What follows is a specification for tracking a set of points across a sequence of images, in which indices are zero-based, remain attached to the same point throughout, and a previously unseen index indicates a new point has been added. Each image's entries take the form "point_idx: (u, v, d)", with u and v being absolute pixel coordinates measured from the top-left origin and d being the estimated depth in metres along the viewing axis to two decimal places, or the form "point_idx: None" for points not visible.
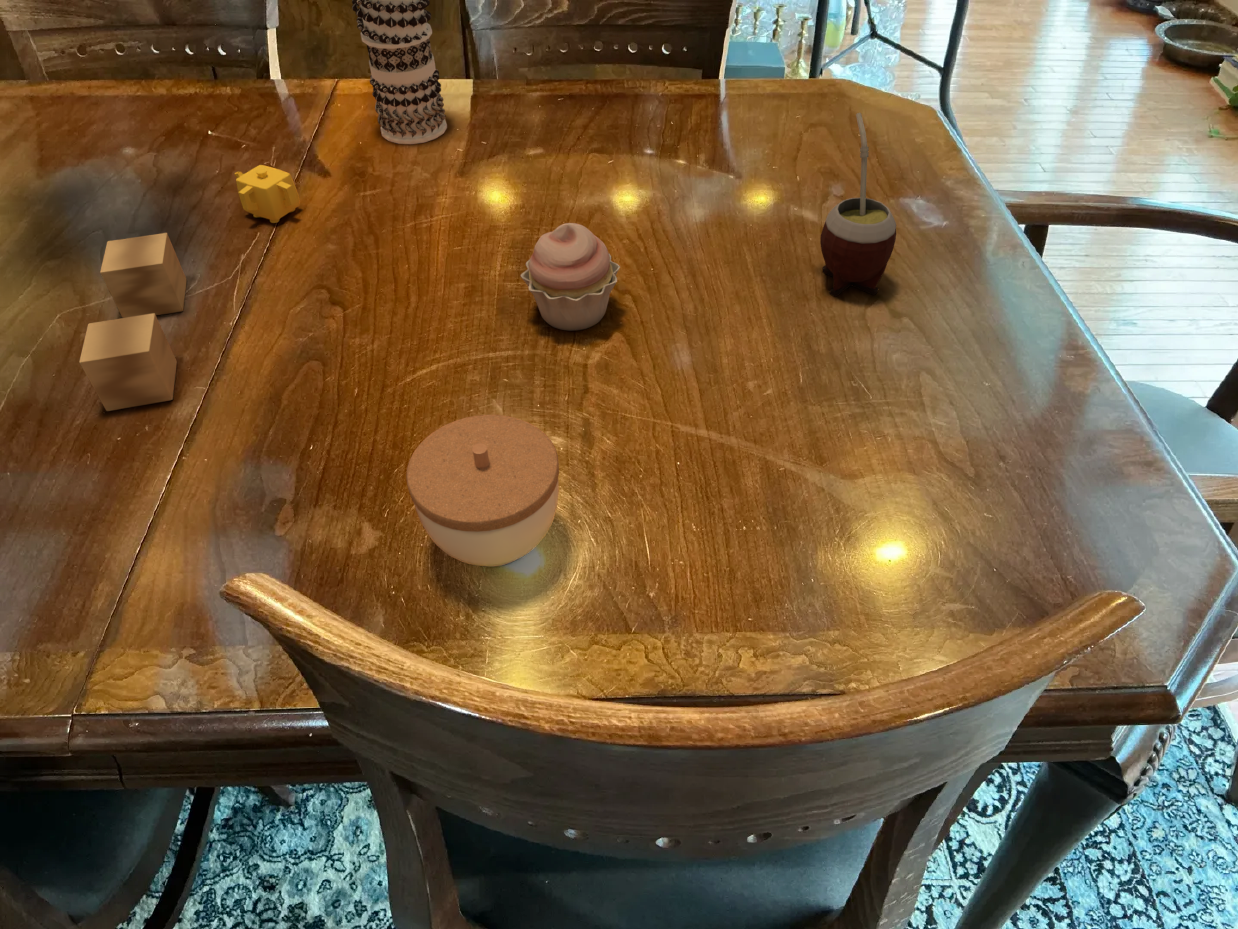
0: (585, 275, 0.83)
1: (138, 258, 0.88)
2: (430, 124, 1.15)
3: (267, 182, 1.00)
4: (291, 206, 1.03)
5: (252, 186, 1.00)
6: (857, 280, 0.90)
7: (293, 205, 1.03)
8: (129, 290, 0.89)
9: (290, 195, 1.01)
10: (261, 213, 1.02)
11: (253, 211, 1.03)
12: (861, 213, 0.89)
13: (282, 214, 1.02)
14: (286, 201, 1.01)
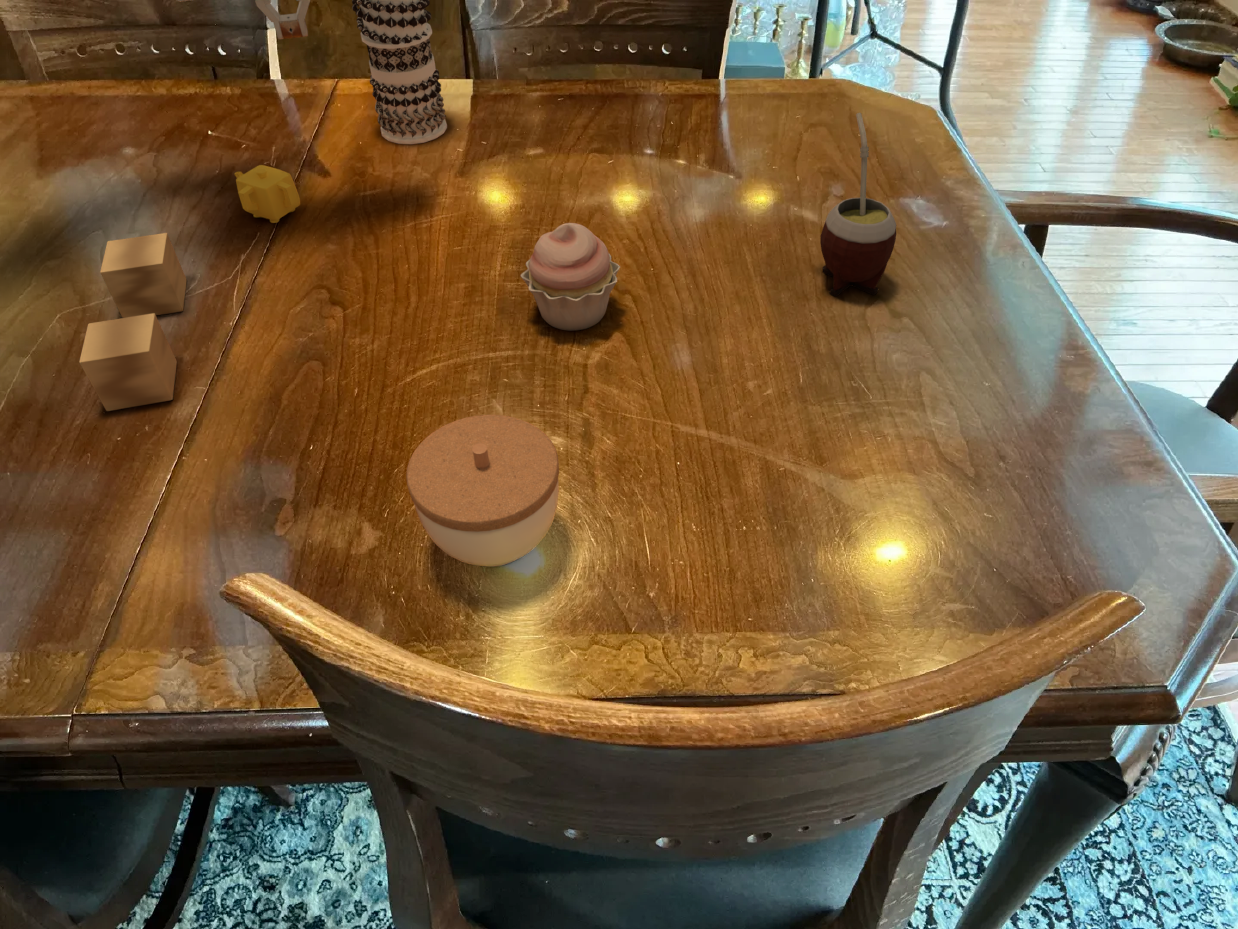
0: (585, 275, 0.83)
1: (138, 258, 0.88)
2: (430, 124, 1.15)
3: (267, 182, 1.00)
4: (291, 206, 1.03)
5: (252, 186, 1.00)
6: (857, 280, 0.90)
7: (293, 205, 1.03)
8: (129, 290, 0.89)
9: (290, 195, 1.01)
10: (261, 213, 1.02)
11: (253, 211, 1.03)
12: (861, 213, 0.89)
13: (282, 214, 1.02)
14: (286, 201, 1.01)
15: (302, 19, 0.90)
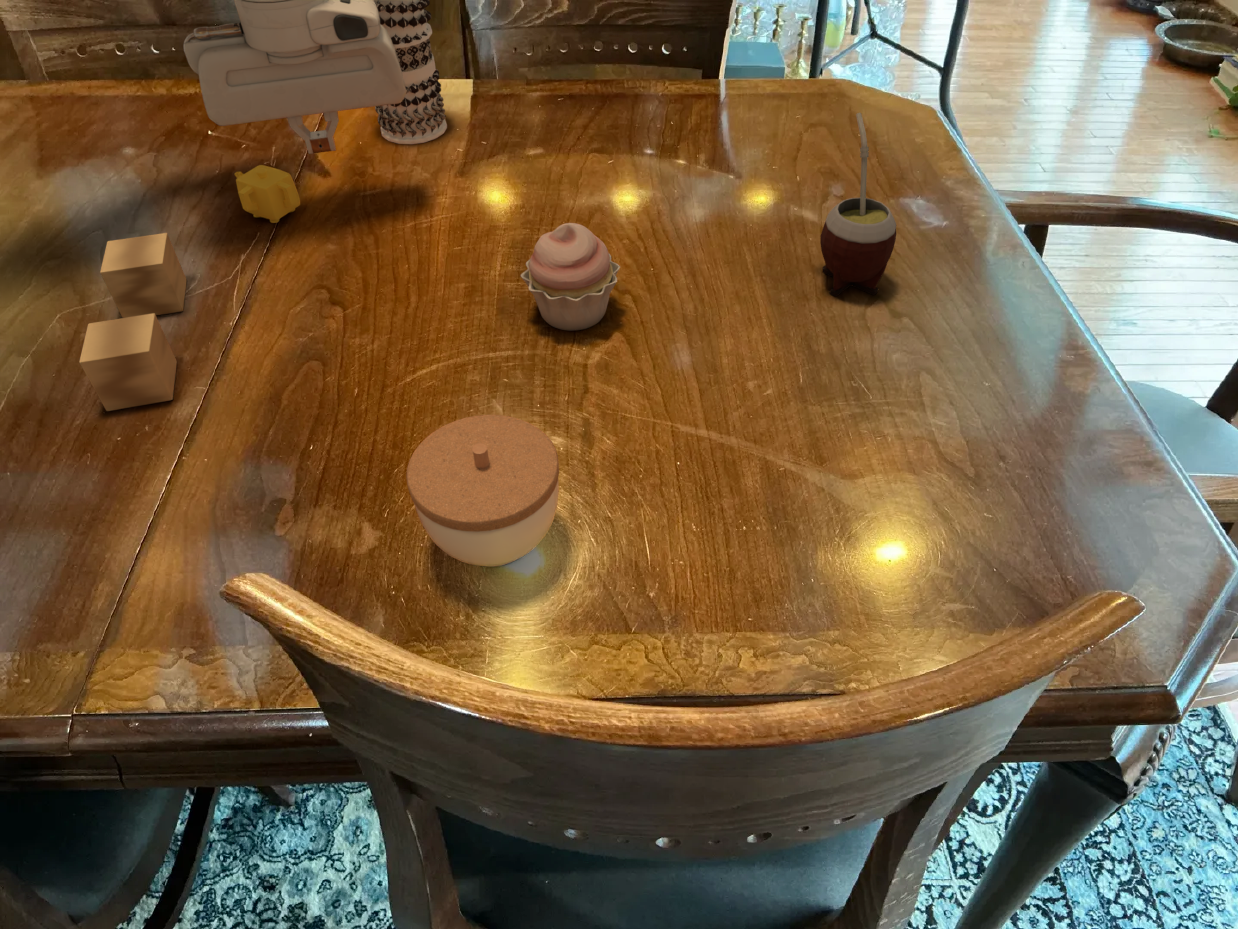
0: (585, 275, 0.83)
1: (138, 258, 0.88)
2: (430, 124, 1.15)
3: (267, 182, 1.00)
4: (291, 206, 1.03)
5: (252, 186, 1.00)
6: (857, 280, 0.90)
7: (293, 205, 1.03)
8: (129, 290, 0.89)
9: (290, 195, 1.01)
10: (261, 213, 1.02)
11: (253, 211, 1.03)
12: (861, 213, 0.89)
13: (282, 214, 1.02)
14: (286, 201, 1.01)
15: (331, 137, 0.99)
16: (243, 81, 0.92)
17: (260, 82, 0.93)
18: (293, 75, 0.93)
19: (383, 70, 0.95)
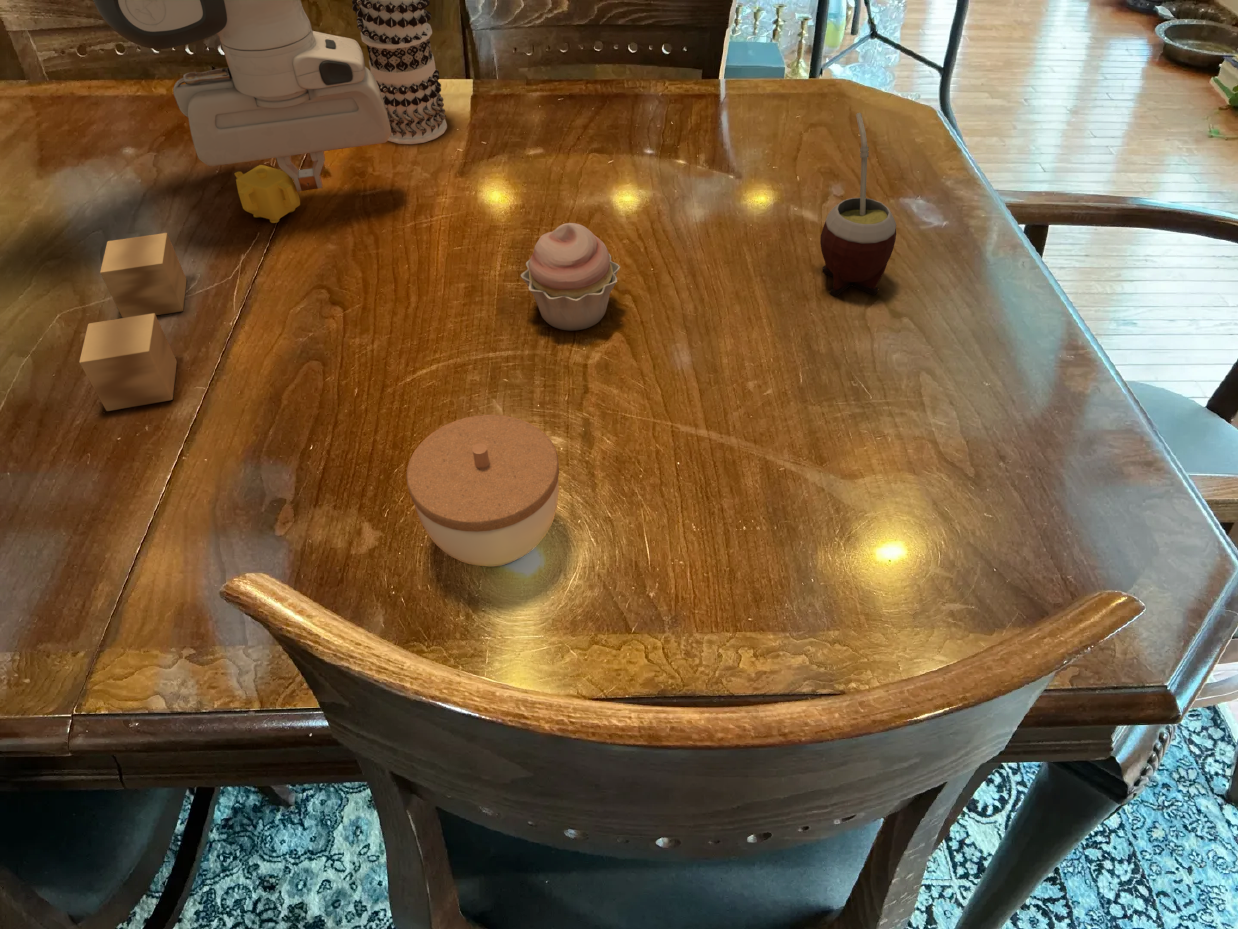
0: (585, 275, 0.83)
1: (138, 258, 0.88)
2: (430, 124, 1.15)
3: (267, 182, 1.00)
4: (291, 206, 1.03)
5: (252, 186, 1.00)
6: (857, 280, 0.90)
7: (293, 205, 1.03)
8: (129, 290, 0.89)
9: (290, 195, 1.01)
10: (261, 213, 1.02)
11: (253, 211, 1.03)
12: (861, 213, 0.89)
13: (282, 214, 1.02)
14: (286, 201, 1.01)
15: (317, 175, 1.02)
16: (232, 124, 0.95)
17: (249, 124, 0.95)
18: (280, 117, 0.96)
19: (368, 111, 0.97)
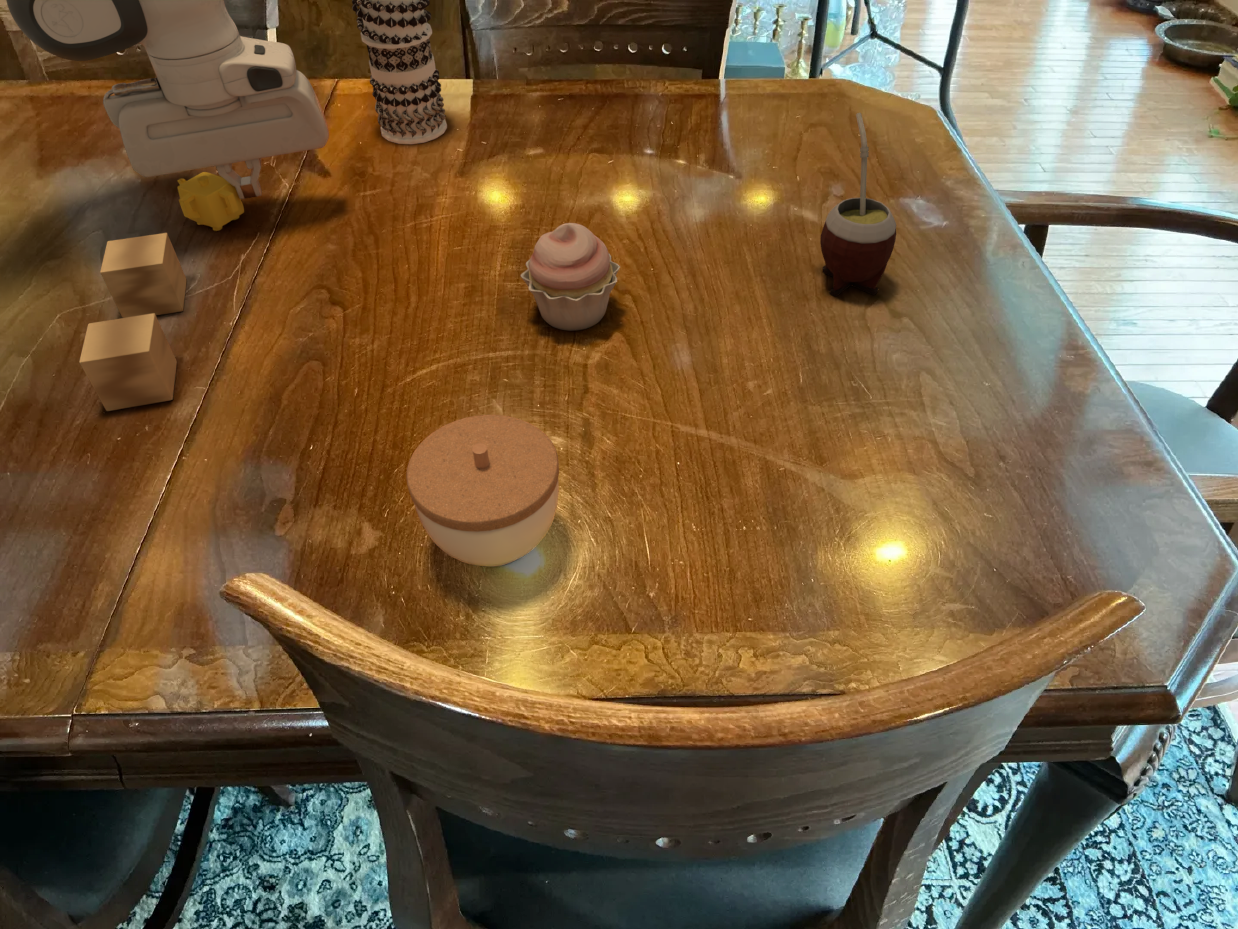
0: (585, 275, 0.83)
1: (138, 258, 0.88)
2: (430, 124, 1.15)
3: (208, 190, 0.99)
4: (234, 214, 1.02)
5: (193, 193, 0.99)
6: (857, 280, 0.90)
7: (236, 213, 1.02)
8: (129, 290, 0.89)
9: (231, 203, 1.00)
10: (203, 221, 1.01)
11: (195, 218, 1.02)
12: (861, 213, 0.89)
13: (224, 222, 1.01)
14: (228, 209, 1.00)
15: (255, 183, 1.00)
16: (164, 134, 0.94)
17: (182, 134, 0.94)
18: (213, 126, 0.95)
19: (302, 117, 0.96)
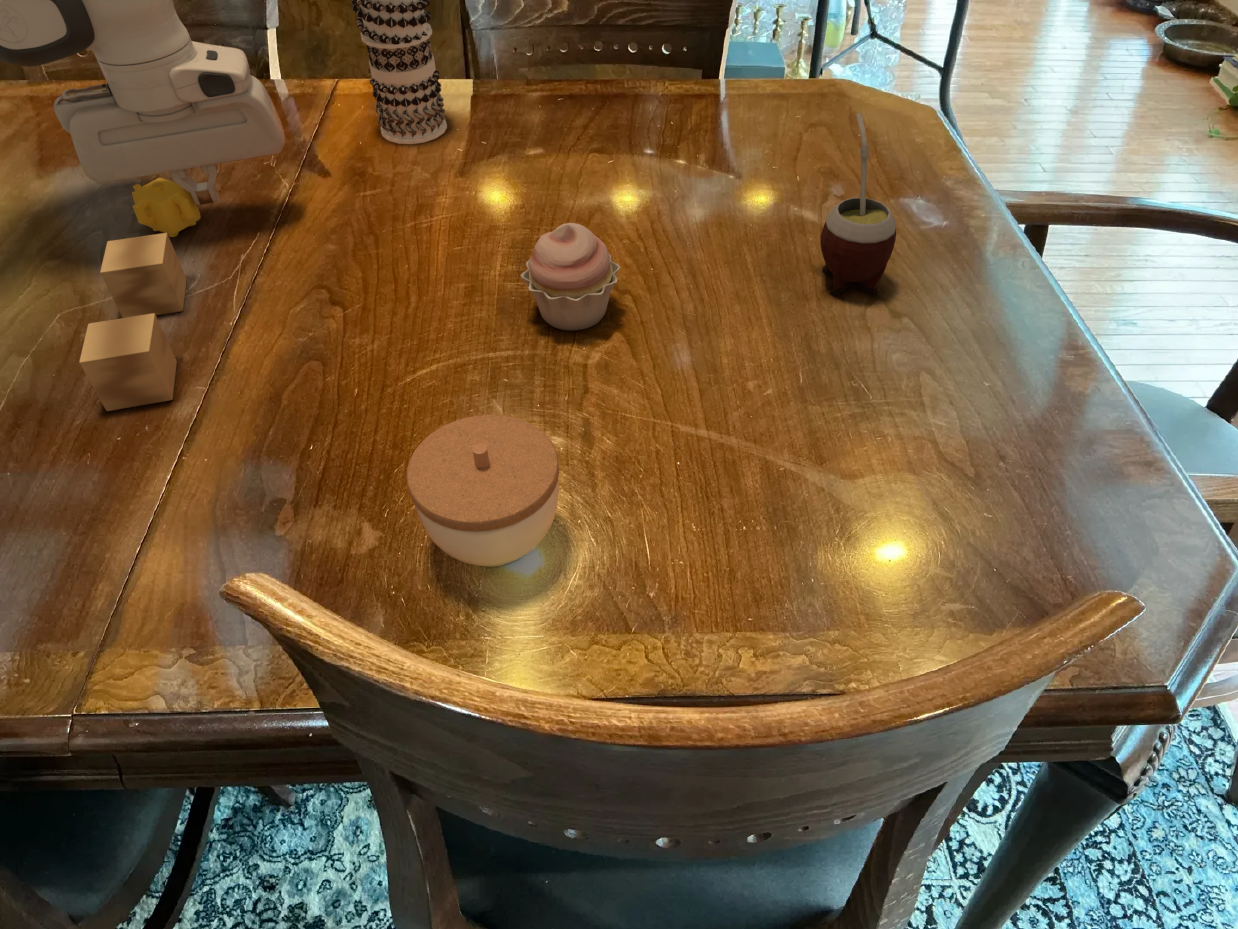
0: (585, 275, 0.83)
1: (138, 258, 0.88)
2: (430, 124, 1.15)
3: (162, 196, 0.99)
4: (190, 220, 1.01)
5: (147, 200, 0.99)
6: (857, 280, 0.90)
7: (192, 219, 1.02)
8: (129, 290, 0.89)
9: (186, 209, 0.99)
10: (158, 227, 1.00)
11: (151, 225, 1.01)
12: (861, 213, 0.89)
13: (180, 228, 1.01)
14: (183, 215, 1.00)
15: (211, 189, 1.00)
16: (117, 140, 0.93)
17: (134, 140, 0.94)
18: (166, 132, 0.94)
19: (257, 122, 0.95)
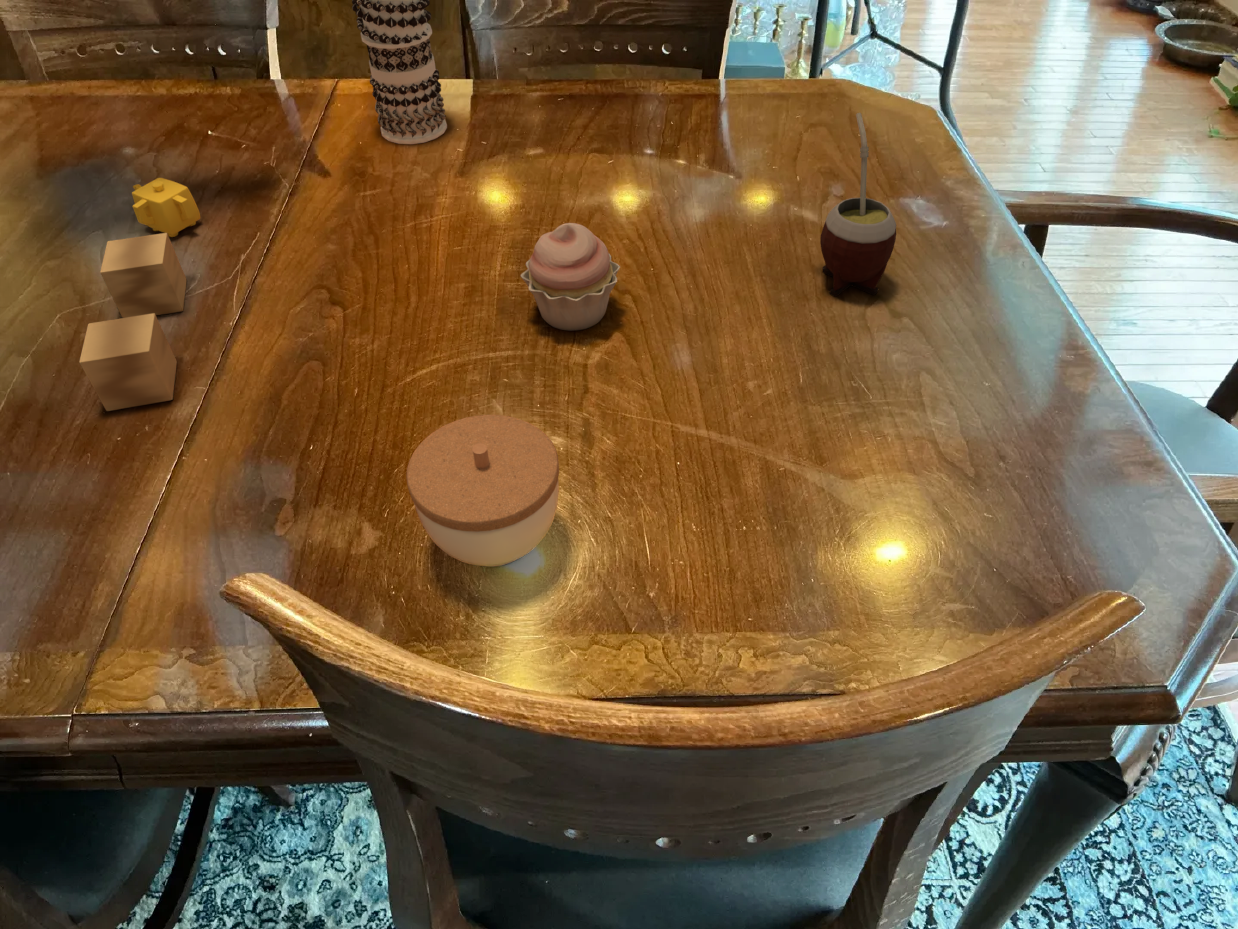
0: (585, 275, 0.83)
1: (138, 258, 0.88)
2: (430, 124, 1.15)
3: (162, 196, 0.99)
4: (190, 220, 1.01)
5: (147, 200, 0.98)
6: (857, 280, 0.90)
7: (192, 219, 1.02)
8: (129, 290, 0.89)
9: (186, 209, 0.99)
10: (158, 227, 1.00)
11: (151, 225, 1.01)
12: (861, 213, 0.89)
13: (180, 228, 1.01)
14: (183, 215, 1.00)
15: None
16: None
17: None
18: None
19: None
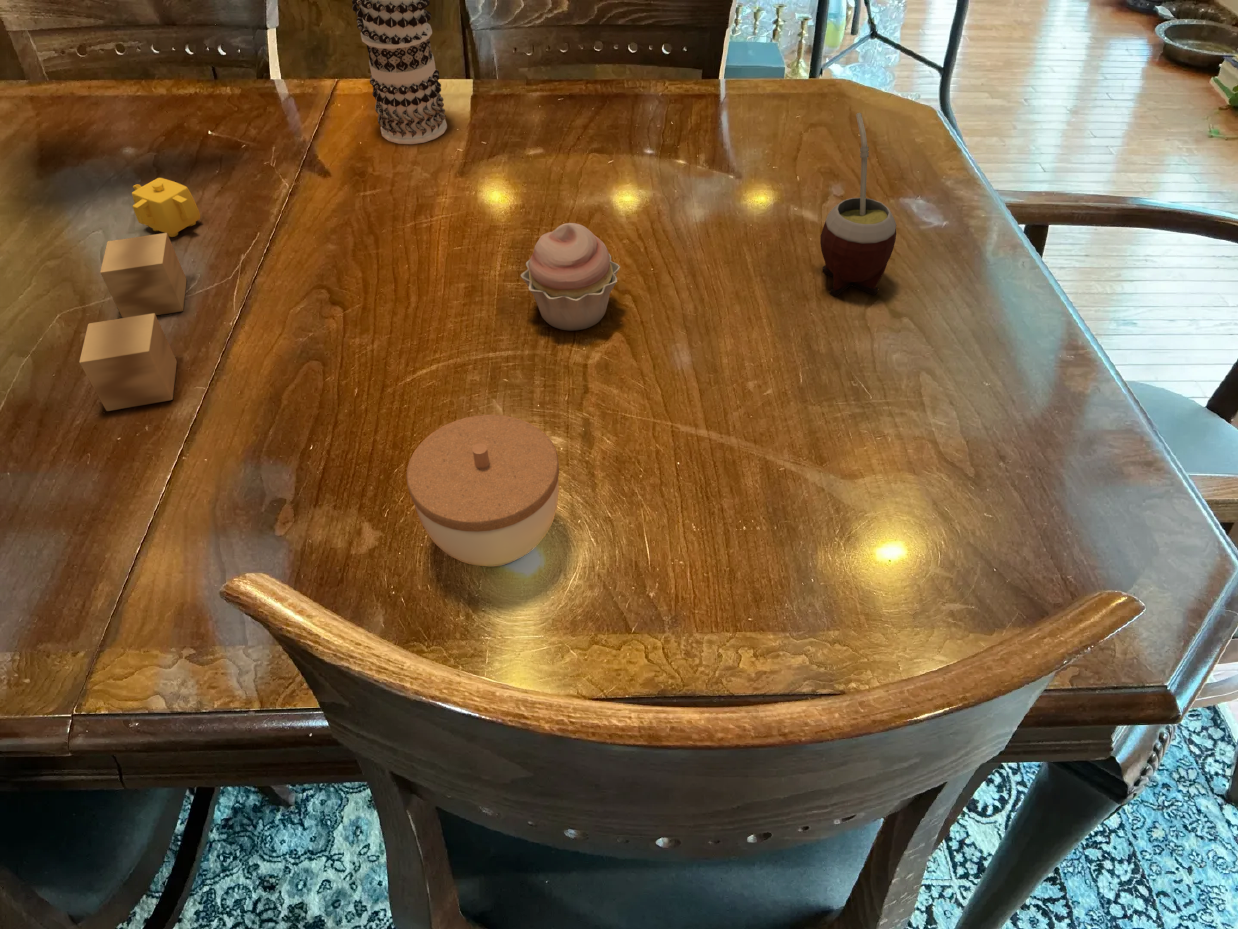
0: (585, 275, 0.83)
1: (138, 258, 0.88)
2: (430, 124, 1.15)
3: (162, 196, 0.99)
4: (190, 220, 1.01)
5: (147, 200, 0.98)
6: (857, 280, 0.90)
7: (192, 219, 1.02)
8: (129, 290, 0.89)
9: (186, 209, 0.99)
10: (158, 227, 1.00)
11: (151, 225, 1.01)
12: (861, 213, 0.89)
13: (180, 228, 1.01)
14: (183, 215, 1.00)
15: None
16: None
17: None
18: None
19: None
